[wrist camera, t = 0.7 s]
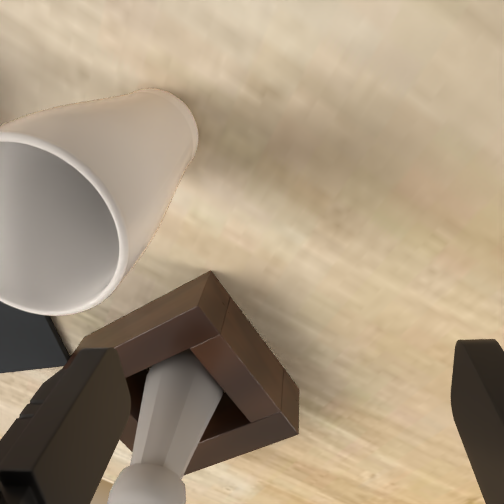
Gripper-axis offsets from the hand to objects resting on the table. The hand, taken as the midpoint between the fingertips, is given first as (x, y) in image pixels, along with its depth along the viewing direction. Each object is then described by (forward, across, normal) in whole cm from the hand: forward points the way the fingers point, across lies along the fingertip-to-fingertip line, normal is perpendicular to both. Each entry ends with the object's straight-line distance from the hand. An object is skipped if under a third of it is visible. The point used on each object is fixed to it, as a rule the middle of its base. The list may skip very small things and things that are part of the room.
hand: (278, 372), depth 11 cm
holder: (+20, +9, +16) cm, 27 cm away
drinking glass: (+19, +8, -3) cm, 21 cm away
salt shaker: (+20, +9, +16) cm, 27 cm away
